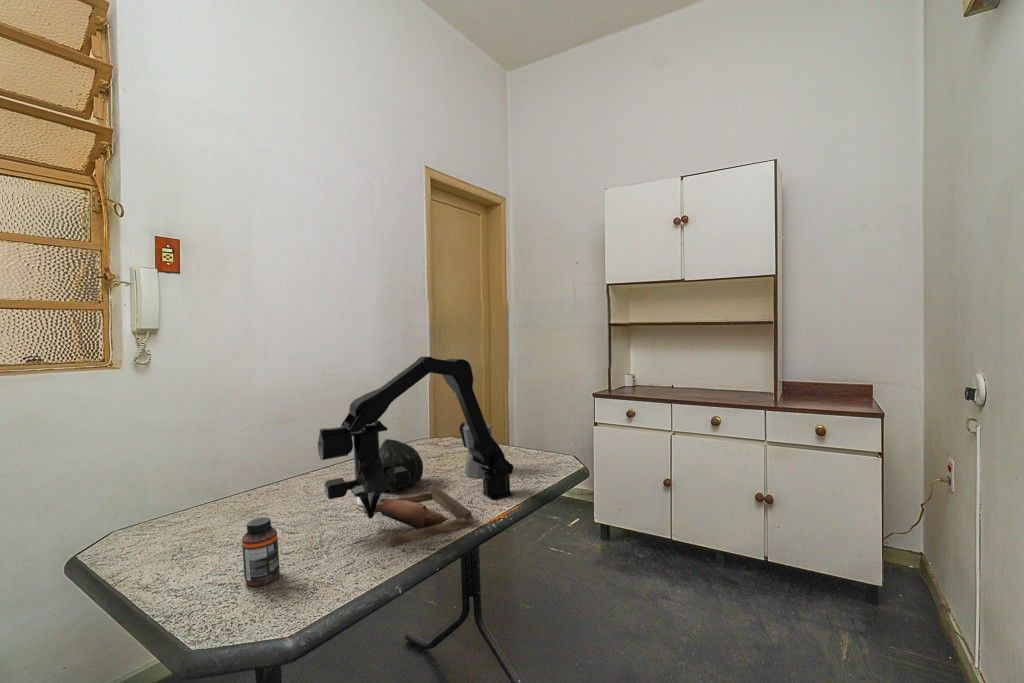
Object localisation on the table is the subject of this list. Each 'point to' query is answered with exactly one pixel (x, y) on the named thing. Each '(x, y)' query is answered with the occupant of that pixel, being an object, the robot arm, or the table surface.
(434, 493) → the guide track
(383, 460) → the squash
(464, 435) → the coffeepot
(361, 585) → the table surface
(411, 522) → the sunglasses case
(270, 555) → the supplement bottle
